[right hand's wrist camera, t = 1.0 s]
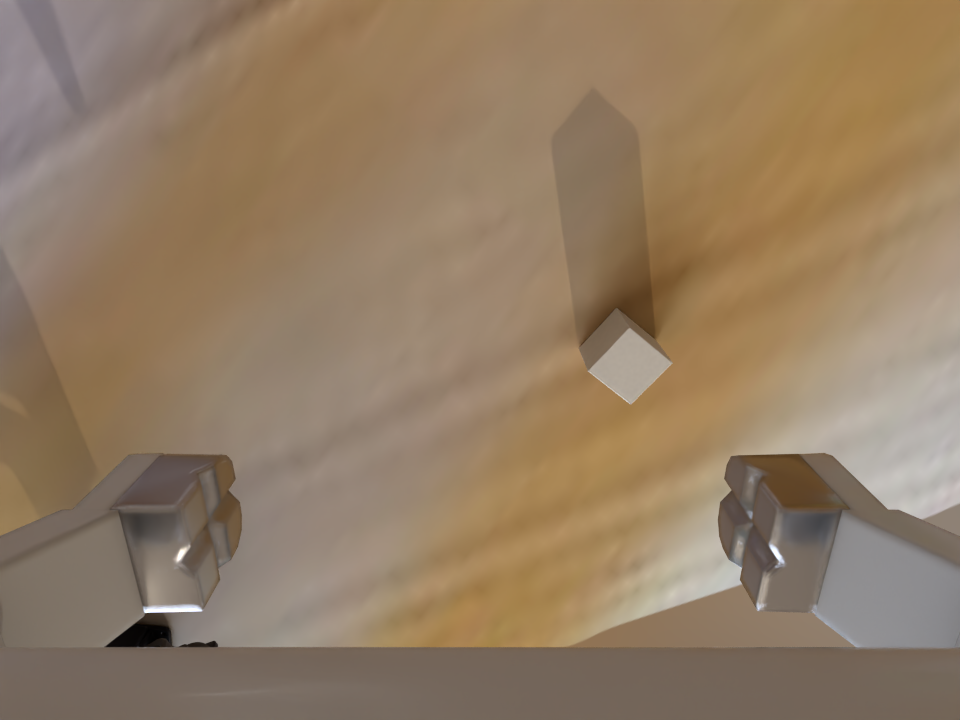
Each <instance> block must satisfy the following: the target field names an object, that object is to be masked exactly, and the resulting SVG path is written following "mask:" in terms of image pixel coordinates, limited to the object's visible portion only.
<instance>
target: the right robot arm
mask: <svg viewBox="0 0 960 720" xmlns="http://www.w3.org/2000/svg"><path fill="white" fill-rule="evenodd" d="M235 479H236V478H235V473H234V468H233V464H232V461H231V459H230V458H229V457H228V456H227V455H203V454H163V453H151V454H133V455H128V456H127V457H126V458H125V459H124V460H123V461H122V462H121V463H120V464H119V465H118V466H117V467H116V468H115V469H114V470H113V471H111V472H110V473H109V474H108V475H107V476H106V477H105V478H104V479H103V480H102V481H101V482H100V483H99V484H98V485H97V486H96V487H95V488H94V489H93V490H92V491H91V492H90V493H89V494H88V495H87V496H86V497H85V498H84V499H83V500H81V501H80V502H79V503H78V504H77V505H76V506H75V507H74V508H73V509H72V510H60V511H58V512H55V513H53V514H51V515H48V516H46V517H44V518H41V519H39V520H37V521H34V522H32V523H30V524H27V525H25V526H23V527H20V528H18V529H16V530H13V531H11V532H9V533H6V534H4V535H2V536H0V720H960V536H958V535H956V534H954V533H951V532H949V531H947V530H944V529H942V528H940V527H937V526H935V525H933V524H930V523H928V522H925V521H923V520H921V519H919V518H916V517H914V516H912V515H909V514H907V513H905V512H902V511H900V510H888V509H887V508H886V507H885V506H884V505H883V504H882V503H881V502H880V501H879V500H878V499H877V498H875V497H874V496H873V495H872V494H871V493H870V492H869V491H868V490H867V489H866V488H865V487H864V486H863V485H862V484H861V483H860V482H859V481H858V480H857V479H856V478H855V477H854V476H853V475H852V474H851V473H850V472H849V471H848V470H847V469H846V468H845V467H844V466H842V465H841V464H840V463H839V462H838V461H837V460H836V459H835V458H834V457H833V456H831V455H828V454H826V453H814V454H778V455H738V456H731V457H730V460H729V462H728V464H727V467H726V472H725V478H724V479H725V481H726V482H727V484H728V485H729V487H730V488H731V490H732V491H731V492H730V493H729V494H728V495H727V496H726V497H725V498H724V499H723V500H722V501H721V502H720V508H719V515H718V526H719V537H720V540H721V543H722V547H723V549H724V551H725V553H726V555H727V557H728V559H729V560H730V561H732V562H733V563H735V564H736V565H738V566H739V567H741V568H742V571H741V577H740V581H741V582H742V584H743V586H744V588H745V589H746V591H747V593H748V595H749V596H750V598H751V600H752V602H753V604H754V605H755V607H756V609H757V611H772V612H807V613H815V616H817V617H818V618H819V619H820V620H822V621H823V622H824V623H826V624H827V625H828V626H830V627H831V628H832V629H833V630H835V631H836V632H837V633H839V634H840V635H841V636H843V637H844V638H845V639H846V640H848V641H849V642H850V643H852V644H853V645H854V646H856V647H105V646H106V645H107V644H109V643H110V642H111V641H112V640H114V639H115V638H116V637H118V636H119V635H120V634H122V633H123V632H124V631H125V630H127V629H128V628H129V627H131V626H132V625H133V624H135V623H136V622H137V621H138V620H140V619H141V618H142V617H144V616H145V613H152V612H188V611H203V609H204V607H205V605H206V604H207V602H208V600H209V598H210V597H211V595H212V593H213V591H214V589H215V588H216V586H217V584H218V582H219V581H220V577H219V571H218V568H219V567H221V566H222V565H224V564H225V563H227V562H228V561H230V560H231V559H232V557H233V555H234V553H235V551H236V549H237V547H238V543H239V539H240V535H241V530H242V513H241V507H240V502H239V501H238V500H237V499H236V498H235V497H234V496H233V495H232V494H231V493H230V492H229V491H228V490H229V488H230V487H231V485H232V484H233V482H234V481H235Z"/></svg>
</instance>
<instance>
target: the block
mask: <svg viewBox="0 0 960 720" xmlns="http://www.w3.org/2000/svg"><path fill="white" fill-rule="evenodd" d="M579 350H580V353H581V355H582V358H583V360H584V362H585V365H586V367H587V370H588V372H590V373H591V374H592V375H593V376H595V377H596V378H597V379H599V380H600V381H601V382H602V383H604V384H605V385H606V386H608V387H609V388H610V389H611V390H613V391H614V392H615V393H617V394H618V395H619V396H620V397H622V398H623V399H624V400H626V401H627V402H628V403H629V404H632V403H633V402H634V401H635V400H636V399H637V398H638V397H639V396H640V395H641V394H642V393H643V392H644V391H645V390H646V389H647V388H648V387H649V386H650V385H651V384H652V383H653V382H654V381H655V380H656V379H657V378H658V377H659V376H660V375H661V374H662V373H663V372H664V371H665V370H666V369H667V368H668V367H669V366H670V365H671V364H672V361H671V360H670V358H669V357H668V356H667V354H666V353H665V352H664V350H663V349H662V348H661V346H660V345H659V344H658V342H657V341H656V340H655V339H654V338H653V337H652V336H650V335H649V334H648V333H647V332H645V331H644V330H643V329H642V328H641V327H639V326H638V325H637V324H636V323H635V322H633V321H632V320H631V319H630V318H629V317H627V316H626V315H625V314H624V313H623V312H621V311H620V310H619V309H618V308H616V309H615V310H614V311H613V312H612V313H611V314H610V315H609V316H608V317H607V318H606V319H605V321H604V322H603V323H602V324H601V325H600V326H599V327H598V328H597V329H596V330H595V331H594V332H593V333H592V334H591V336H590V337H589V338H588V339H587V340H586V341H585V342H584V343H583V344H582V345H581V346H580V347H579Z"/></svg>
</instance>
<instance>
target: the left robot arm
mask: <svg viewBox="0 0 960 720" xmlns="http://www.w3.org/2000/svg"><path fill="white" fill-rule="evenodd" d="M105 647H174V646H172V642H171V631H170V629H169V628H167V627H160V626H149V625H139V624H133V625H132V626H131V627H129V628H128V629H127V630H125V631H124V632H123V633H122V634H120V635H119V636H118V637H116V638H115V639H114V640H112V641H111V642H110V643H109V644H107V645H106V646H105ZM179 647H218V644H217V643H216V641H212V642H209V643H206V644H204V643H201V642H195V643H191V644H188V645H186V644H184V645H181V646H179Z"/></svg>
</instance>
